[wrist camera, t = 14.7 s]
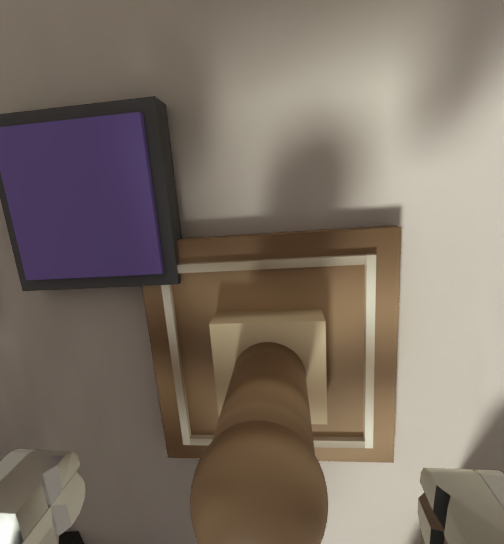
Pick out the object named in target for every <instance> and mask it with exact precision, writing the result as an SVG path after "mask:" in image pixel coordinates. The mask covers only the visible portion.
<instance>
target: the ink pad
mask: <svg viewBox="0 0 504 544" xmlns="http://www.w3.org/2000/svg"><path fill="white" fill-rule="evenodd" d="M0 199H1V203H2V207H3V211H4V215H5V219H6V223H7V228H8V232H9V236H10V240H11V244H12V248H13V253H14V257H15V261H16V265H17V269H18V273H19V278H20V282H21V286H22V290H23V291H36V290H59V289H82V288H105V287H128V286H151V285H175V284H180V283H181V276H180V273H178V270H177V265H178V264H179V260H178V252H177V244H176V240H179V239H181V229H180V221H179V213H178V204H177V196H176V188H175V179H174V171H173V163H172V154H171V146H170V138H169V130H168V121H167V113H166V105H165V104H164V103H163V102H161V101H160V100H159V99H157V98H156V97H155V96H154V97H145V98H136V99H128V100H119V101H110V102H102V103H93V104H84V105H76V106H67V107H59V108H50V109H41V110H33V111H24V112H15V113H7V114H0Z"/></svg>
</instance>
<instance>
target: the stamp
mask: <svg viewBox="0 0 504 544" xmlns="http://www.w3.org/2000/svg"><path fill="white" fill-rule="evenodd" d="M209 328H210V337H211V347H212V356H213V366H214V376H215V385H216V395H217V404H218V414H219V420H218V423H217V426H216V430H215V433H214V436H213V440H212V442H211V443H210V444H209V445H208V447H207V449H206V450H205V452H204V453H203V455H202V456H201V459H200V461H199V463H198V465H197V468H196V470H195V474H194V478H193V482H192V487H191V497H190V509H191V519H192V524H193V529H194V533H195V535H196V538H197V541H198V544H320V543H321V541H322V538H323V536H324V532H325V527H326V523H327V515H328V495H327V487H326V482H325V478H324V475H323V472H322V469H321V466H320V464H319V462H318V460H317V458H316V456H315V450H314V442H313V433H312V424H327V374H326V321H325V318H324V315H323V312H322V309H304V310H271V311H237V312H216V314H215V315H214V317H213V318H212V320H211V322H210V323H209Z"/></svg>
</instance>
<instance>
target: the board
mask: <svg viewBox="0 0 504 544" xmlns="http://www.w3.org/2000/svg"><path fill="white" fill-rule="evenodd" d="M176 244H177V252H178V260H179V264H178V265H177V270H178V273H180V276H181V283H180V284H175V285H151V286H142V290H143V297H144V303H145V310H146V316H147V323H148V329H149V336H150V342H151V349H152V355H153V362H154V369H155V375H156V382H157V388H158V395H159V401H160V408H161V414H162V421H163V427H164V434H165V440H166V447H167V453H168V457H171V458H201V456H202V455H203V453H204V452H205V450H206V449H207V447H208V445H209V444H210V443H211V442H212V440H213V436H214V433H215V430H216V426H217V423H218V420H219V414H218V404H217V395H216V385H215V376H214V366H213V356H212V347H211V337H210V328H209V323H210V322H211V320H212V318H213V317H214V315H215V314H216V312H237V311H271V310H304V309H322V312H323V315H324V318H325V321H326V374H327V424H312V433H313V442H314V450H315V456H316V458H317V460H318V461H347V462H391V463H394V434H395V404H396V374H397V345H398V315H399V285H400V255H401V227H399V226H379V227H362V228H346V229H329V230H313V231H296V232H280V233H263V234H247V235H230V236H214V237H197V238H181V239H179V240H176Z"/></svg>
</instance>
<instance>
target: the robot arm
mask: <svg viewBox="0 0 504 544" xmlns="http://www.w3.org/2000/svg"><path fill="white" fill-rule="evenodd" d="M79 467H80V461H79V458H78V454H76V453H72V452H61V451H48V450H29V449H17V450H14V451H12V452H10V453H9V454H7V455H6V456H5V457H4V458H3V459H2V460H1V461H0V544H59V535H61V534H62V533H63V532H65V531H66V530H67V529H68V528H70V527H71V526H72V525H73V523H74V522H75V520H76V518H77V517H78V515H79V514H80V511H81V508H82V505H83V502H84V499H85V489H86V488H85V483H84V479H83V478H82V477H81V476H80V475H79V474H78V473H77V470H78V468H79ZM420 483H421V485H422V488H423V490H424V493H423V494H422V495H421V496H420V497H419V498H418V517H419V524H420V529H421V532H422V536H423V539H424V542H425V544H504V473H502V472H501V471H500V470H470V469H445V468H423V470H422V472H421V477H420Z"/></svg>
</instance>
